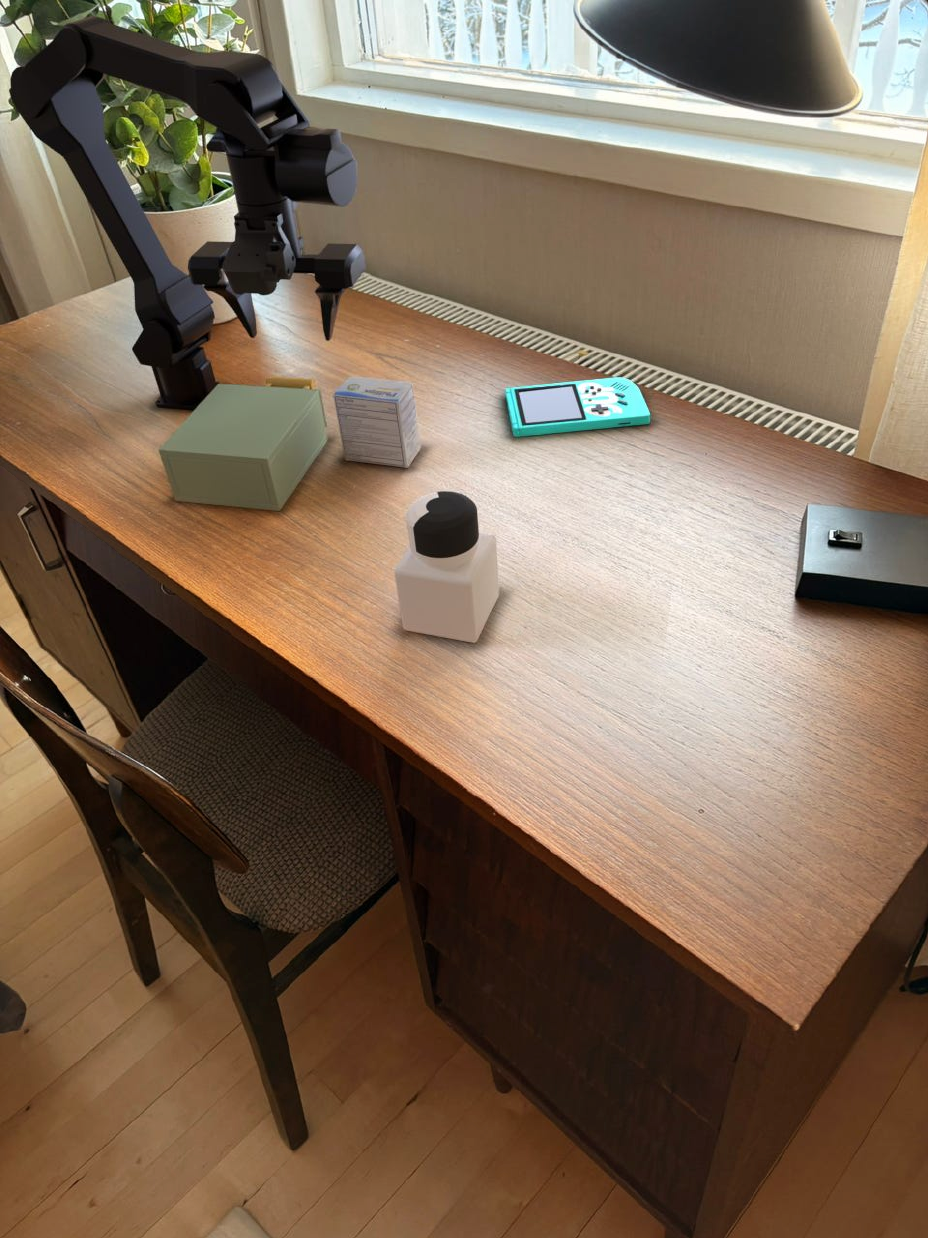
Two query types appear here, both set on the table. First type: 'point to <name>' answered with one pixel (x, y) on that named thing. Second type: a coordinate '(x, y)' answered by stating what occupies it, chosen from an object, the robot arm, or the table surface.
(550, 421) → the handheld game console
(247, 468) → the cabinet
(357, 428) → the medicine box
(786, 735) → the table surface
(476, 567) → the medicine bottle
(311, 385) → the drawer
